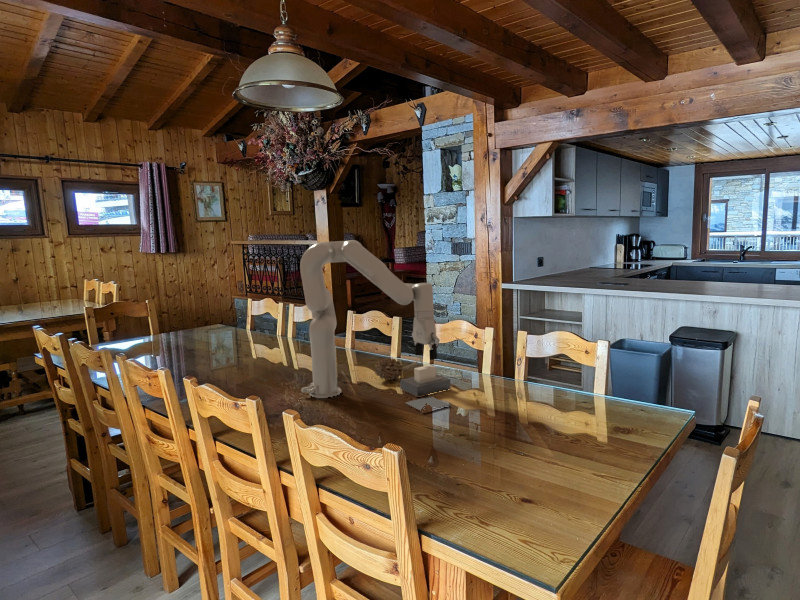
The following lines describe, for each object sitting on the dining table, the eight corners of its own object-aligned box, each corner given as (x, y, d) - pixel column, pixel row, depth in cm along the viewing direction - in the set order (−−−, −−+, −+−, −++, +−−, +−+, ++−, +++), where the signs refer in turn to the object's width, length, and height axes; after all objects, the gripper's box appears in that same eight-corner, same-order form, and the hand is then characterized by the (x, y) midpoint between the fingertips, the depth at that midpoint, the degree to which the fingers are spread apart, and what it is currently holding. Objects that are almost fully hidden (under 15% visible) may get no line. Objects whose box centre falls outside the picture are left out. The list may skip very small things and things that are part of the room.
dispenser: (417, 398, 191) (417, 385, 191) (400, 390, 201) (400, 378, 201) (450, 390, 200) (450, 377, 199) (432, 383, 210) (432, 371, 209)
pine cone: (383, 386, 208) (382, 362, 206) (370, 381, 215) (369, 358, 214) (423, 375, 221) (422, 353, 220) (409, 371, 229) (408, 350, 227)
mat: (423, 414, 174) (423, 412, 174) (404, 404, 184) (404, 402, 184) (450, 406, 181) (450, 404, 181) (430, 398, 191) (430, 396, 191)
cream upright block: (419, 393, 197) (419, 370, 196) (414, 391, 200) (414, 368, 199) (436, 389, 201) (435, 366, 200) (430, 387, 204) (430, 364, 203)
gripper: (404, 313, 202) (406, 354, 204) (429, 318, 187) (431, 362, 189) (419, 311, 206) (421, 351, 208) (445, 315, 191) (447, 359, 193)
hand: (426, 356), depth 199 cm, fingers open, 9 cm apart
